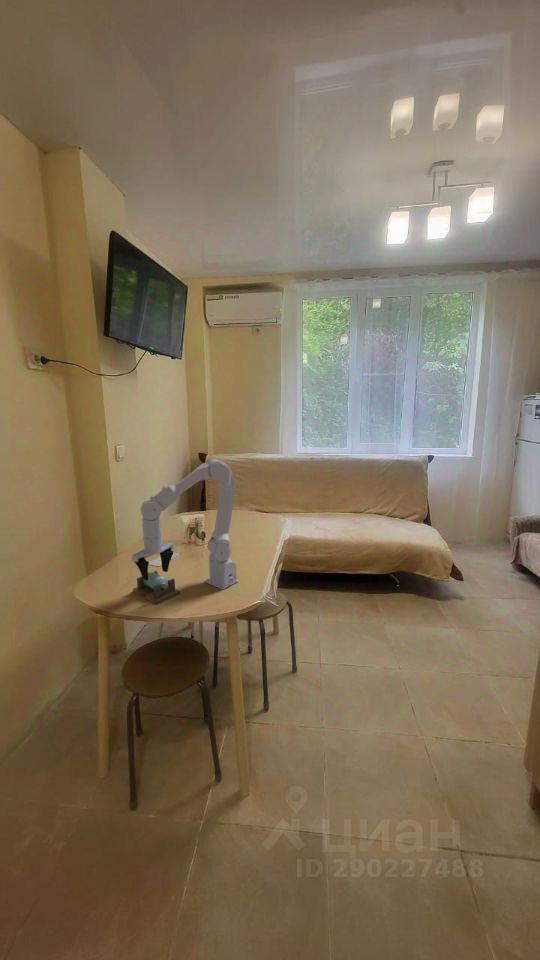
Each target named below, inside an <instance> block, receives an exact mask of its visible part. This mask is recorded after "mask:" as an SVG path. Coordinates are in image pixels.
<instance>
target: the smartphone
mask: <svg viewBox="0 0 540 960" xmlns="http://www.w3.org/2000/svg"><path fill="white" fill-rule="evenodd" d="M181 554H182V552H175V551H173V555H172V557H171V560H170V561H172V560H173V559H175V558H177V557H178V556H180V555H181ZM148 562H149V564H148V566H150V567H151V566H152V567H158V568H159V567H162V562H161V557H160V555H159V556H157V557H156V558H154V559H152V560H150V561H148Z"/></svg>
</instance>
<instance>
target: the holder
mask: <svg viewBox="0 0 540 960" xmlns="http://www.w3.org/2000/svg"><path fill="white" fill-rule="evenodd" d="M153 572H154V573H156V574H158V571H157V570H154V571H153ZM158 575H159V574H158ZM175 581H176V580H175V579H174V578H170V579H168V586H169V587H168V589H167V590H165V589H161V585H156V586H154V589H152V588H150V587H148V586H146V585H144V583H143V578H142V575H141V576H139V577H136V583H137V586H136V587H134V588H133V589H132V591H133V593H135V594H137V595H138V596H140V597H142V598H144V599H146V600H148V601H150V602H151V603H153V604H155V605H159V604H162V603H164V602H166V601H168V600H170V599H172V598H175V597H176V596H178V595H181V591H180V589H176V583H175Z"/></svg>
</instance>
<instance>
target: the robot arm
mask: <svg viewBox="0 0 540 960" xmlns="http://www.w3.org/2000/svg"><path fill="white" fill-rule="evenodd" d="M232 472H233V471H232V468H231V467H229V466H228V465H227V463H226V462H224V461H222V460H220V459H219V458H214V457H213V458H210V459H208V460H206V462H204V463H201V464H200V465H199V466H197V467H196V468H195V469H194V470H193V471H191V472H190V473H189V474H188V475H186V476H185V477H184V478H182V479H181V480H180V481H179V482H177V483H176V484H175V485H167V486H165V485H164V486H163V487H161V490H160V491H159V492H158V493H156V494H155V495H151V496H150V497H149V499H147V500H145V501H143V502H142V504H141V506H140V511H141V515H142V518H141V519H142V535H143V549H142V550H140V551H138V552H136V553H135V554H132V555H131V558H132V559H131V560H132V561H133V562H134V563H135V565H136V566H137V568H138V570H139V572H140V574H141V576H142V578H143V579H144V580H148V572H149V571H148V570H149V565H148V564H149V562H150V561H148V560H147V558H149V557H151V556H154V555H158V554H159V556H160V557H161V562H162V566H161V569H162V572H164V573H167V572H168V570H169V566H170V562H171V561H172V560H171V557H172V555H173V552H174V549H175V547H174V544H175V543H173V542H168V543H167V542H166V543H163V539H162V538H163V537H162V524H161V521H160V520H161V519H160V518H161V517H160V516H161V514H162V512H164V511H165V510H167V509H168V508H170V507H171V506H172V505H173V504H175V503H176V502H177V501H179V500H180V498H181V494H182V493H183V492H185V491H186V490H188V489H190V488H191V487H193V486H194V485H196V484H197V483H199V482H201V481H210V480H211V478H213V479H214V480H215V481H216V482H217V484H218V485H219V486H220V491H219V492H220V494H219V499H218V505H217V513H216V517H215V518H216V519H215V524H214V530H213V532H211V537H210V539H209V540H208V541H207V542H208V543H207V549H208V550H209V552H210V554H209V556H208V560H209V561H208V564H209V565H208V566H209V578H208V579H205V580H204V582H205V583H206V584H209V585H211V586H213V587H215V588H218V589H220V590H225V589H227V588H228V587H230V585H231V586H232V585H235V584H236V583H238V582H239V580H238V579H237V565H236V563H235V562H234V561H232V559H231V558H230V556H231V553H232V552H231V547H230V543H231V541H230V535H229V533H230V527H231V520H232V514H233V508H234V503H235V495H236V490H237V482H236V479H235V477H234V475H233V473H232Z"/></svg>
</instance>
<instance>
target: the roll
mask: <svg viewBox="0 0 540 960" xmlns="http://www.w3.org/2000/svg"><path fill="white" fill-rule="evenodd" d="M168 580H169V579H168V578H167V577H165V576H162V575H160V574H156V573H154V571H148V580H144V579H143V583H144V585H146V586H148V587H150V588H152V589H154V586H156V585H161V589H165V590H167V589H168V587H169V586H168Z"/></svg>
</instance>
